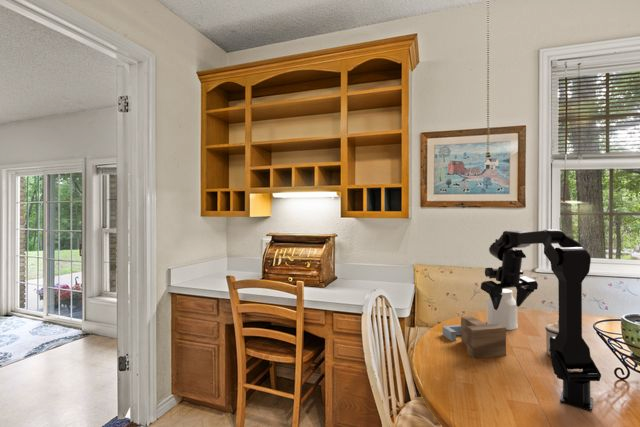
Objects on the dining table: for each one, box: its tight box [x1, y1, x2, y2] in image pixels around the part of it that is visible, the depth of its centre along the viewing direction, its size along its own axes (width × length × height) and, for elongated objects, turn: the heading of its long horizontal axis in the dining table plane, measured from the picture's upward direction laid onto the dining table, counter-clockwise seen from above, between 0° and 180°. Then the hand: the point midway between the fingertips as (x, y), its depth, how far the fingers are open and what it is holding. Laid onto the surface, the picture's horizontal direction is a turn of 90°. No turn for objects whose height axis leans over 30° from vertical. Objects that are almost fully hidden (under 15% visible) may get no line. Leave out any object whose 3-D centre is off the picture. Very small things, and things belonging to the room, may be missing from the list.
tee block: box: [460, 315, 507, 359], centre depth 122 cm, size 14×12×10 cm
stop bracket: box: [442, 324, 461, 342], centre depth 133 cm, size 6×11×4 cm, turn 99°
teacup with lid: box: [545, 319, 559, 356], centre depth 116 cm, size 12×9×12 cm
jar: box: [486, 288, 519, 331], centre depth 145 cm, size 12×10×15 cm
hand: (506, 307), depth 120 cm, fingers open, 9 cm apart
